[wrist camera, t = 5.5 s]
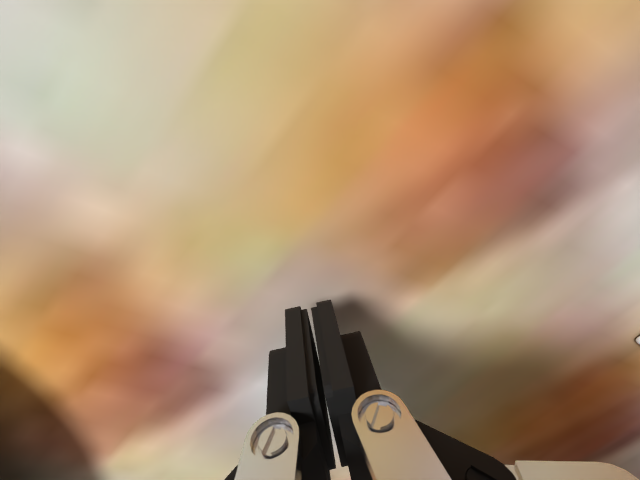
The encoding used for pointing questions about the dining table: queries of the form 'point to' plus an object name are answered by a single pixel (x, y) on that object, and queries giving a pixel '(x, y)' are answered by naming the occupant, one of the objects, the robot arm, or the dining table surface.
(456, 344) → the dining table surface
